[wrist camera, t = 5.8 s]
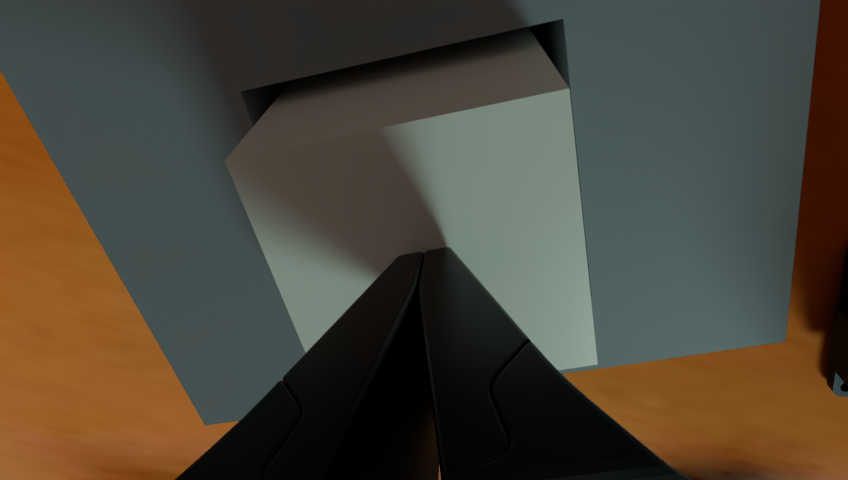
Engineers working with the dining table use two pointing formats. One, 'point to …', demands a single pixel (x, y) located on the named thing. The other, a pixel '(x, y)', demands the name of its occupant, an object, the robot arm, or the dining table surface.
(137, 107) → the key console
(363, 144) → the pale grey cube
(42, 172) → the dining table surface
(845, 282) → the robot arm
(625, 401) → the dining table surface
